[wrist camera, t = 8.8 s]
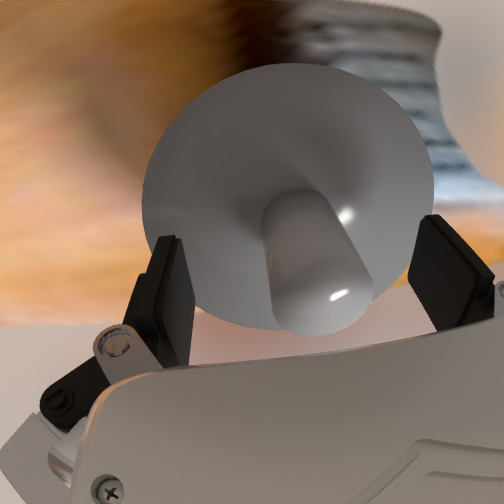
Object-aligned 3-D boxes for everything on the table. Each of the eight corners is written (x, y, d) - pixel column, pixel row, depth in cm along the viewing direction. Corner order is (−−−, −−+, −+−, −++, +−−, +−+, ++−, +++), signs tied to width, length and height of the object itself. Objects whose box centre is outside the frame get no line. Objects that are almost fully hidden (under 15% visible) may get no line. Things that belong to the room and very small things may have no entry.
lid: (432, 72, 11) (528, 99, 6) (398, 299, 18) (436, 377, 13) (122, 85, 11) (44, 112, 6) (181, 323, 18) (169, 413, 13)
